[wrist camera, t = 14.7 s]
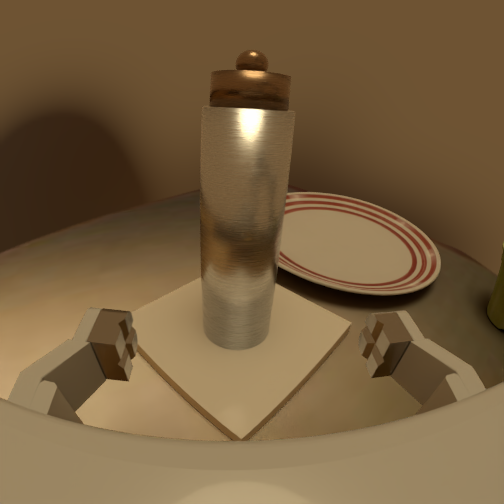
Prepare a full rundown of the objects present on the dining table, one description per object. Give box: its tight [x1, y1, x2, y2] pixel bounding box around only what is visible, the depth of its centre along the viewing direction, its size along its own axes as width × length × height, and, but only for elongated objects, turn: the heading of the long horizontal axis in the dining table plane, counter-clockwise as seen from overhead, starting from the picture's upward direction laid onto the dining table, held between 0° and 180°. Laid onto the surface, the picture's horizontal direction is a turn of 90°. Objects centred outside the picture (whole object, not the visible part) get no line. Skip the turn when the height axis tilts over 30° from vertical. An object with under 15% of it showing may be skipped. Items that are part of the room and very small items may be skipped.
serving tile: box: [131, 277, 352, 441], centre depth 23 cm, size 14×14×1 cm
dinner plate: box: [278, 192, 441, 296], centre depth 38 cm, size 28×27×3 cm
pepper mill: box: [200, 50, 295, 350], centre depth 18 cm, size 5×5×20 cm
